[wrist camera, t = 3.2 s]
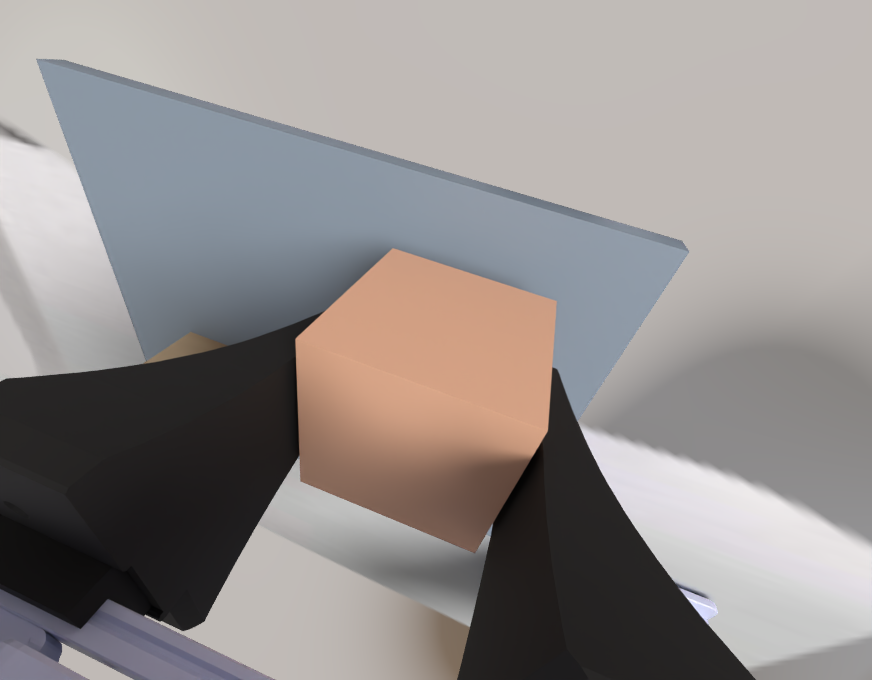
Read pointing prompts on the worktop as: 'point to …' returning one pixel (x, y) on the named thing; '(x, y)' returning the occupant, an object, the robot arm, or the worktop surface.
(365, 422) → the terracotta block
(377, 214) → the board
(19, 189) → the worktop surface
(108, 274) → the worktop surface
